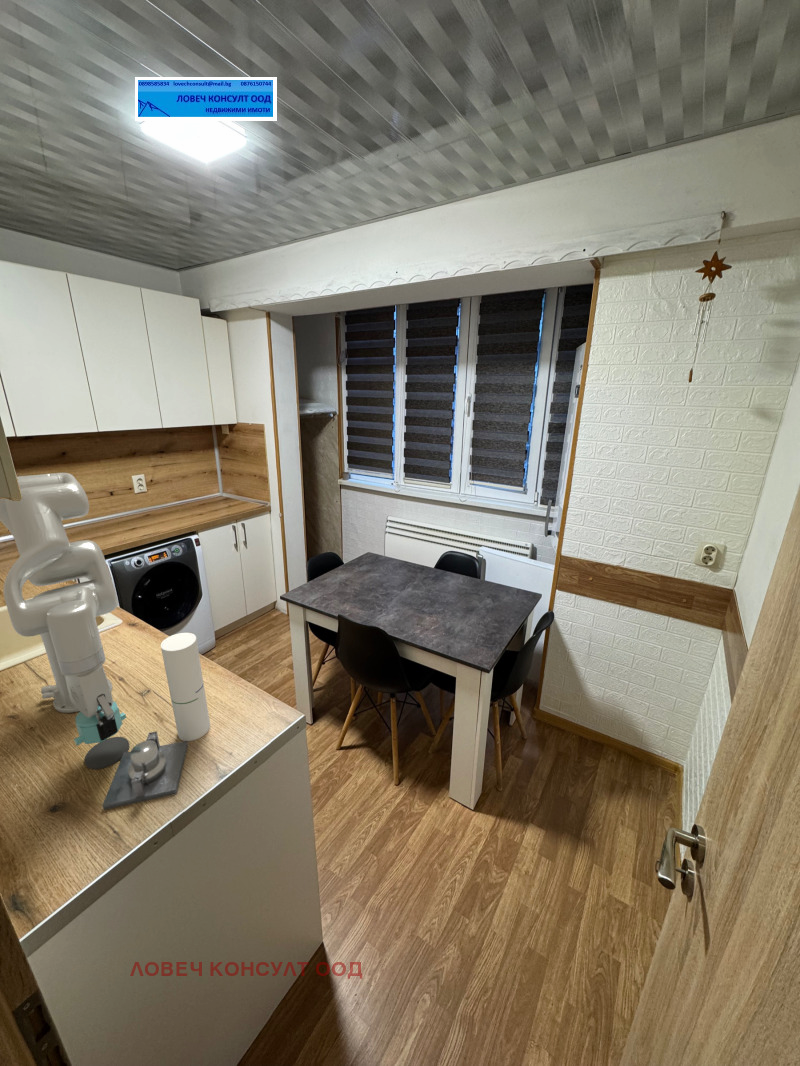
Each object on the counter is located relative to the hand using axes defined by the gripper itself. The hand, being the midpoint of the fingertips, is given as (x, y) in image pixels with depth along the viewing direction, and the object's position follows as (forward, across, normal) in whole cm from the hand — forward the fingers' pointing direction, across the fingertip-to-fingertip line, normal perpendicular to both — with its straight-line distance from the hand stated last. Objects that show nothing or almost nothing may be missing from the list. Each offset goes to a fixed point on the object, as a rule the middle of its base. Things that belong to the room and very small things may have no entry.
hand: (100, 727), depth 92 cm
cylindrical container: (+8, +9, +15) cm, 19 cm away
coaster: (+8, 0, 0) cm, 8 cm away
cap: (+1, 0, 0) cm, 1 cm away
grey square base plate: (+8, +13, +3) cm, 15 cm away
